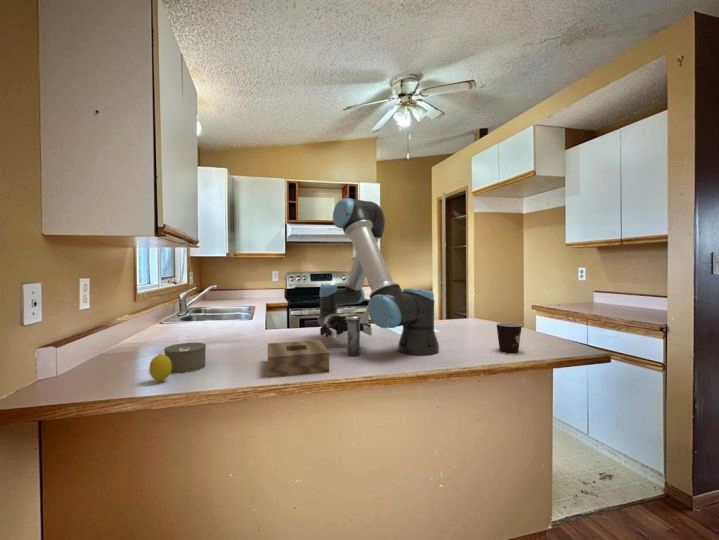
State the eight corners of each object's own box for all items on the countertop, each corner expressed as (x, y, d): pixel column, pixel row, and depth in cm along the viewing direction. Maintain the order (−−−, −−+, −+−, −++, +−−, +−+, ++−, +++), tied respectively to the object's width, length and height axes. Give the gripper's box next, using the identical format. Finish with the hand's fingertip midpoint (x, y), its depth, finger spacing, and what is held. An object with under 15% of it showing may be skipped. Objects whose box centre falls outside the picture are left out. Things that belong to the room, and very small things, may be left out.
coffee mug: (506, 355, 126) (506, 327, 126) (491, 349, 135) (491, 323, 134) (534, 352, 129) (534, 325, 129) (518, 347, 137) (518, 321, 137)
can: (207, 361, 121) (206, 341, 121) (205, 371, 110) (204, 349, 110) (167, 365, 117) (167, 344, 117) (161, 375, 106) (160, 353, 106)
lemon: (148, 381, 101) (148, 353, 101) (170, 377, 104) (170, 350, 104) (150, 386, 96) (150, 357, 96) (173, 382, 100) (172, 354, 99)
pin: (363, 353, 130) (363, 315, 130) (359, 357, 125) (359, 317, 124) (348, 352, 132) (348, 314, 131) (343, 356, 126) (343, 317, 126)
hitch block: (320, 357, 125) (320, 340, 125) (329, 372, 108) (328, 352, 108) (267, 361, 121) (267, 343, 121) (268, 377, 103) (267, 357, 103)
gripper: (363, 330, 152) (384, 340, 132) (305, 335, 143) (319, 347, 123) (363, 313, 152) (384, 320, 132) (305, 316, 142) (319, 325, 123)
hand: (353, 333), depth 127 cm, fingers open, 13 cm apart
